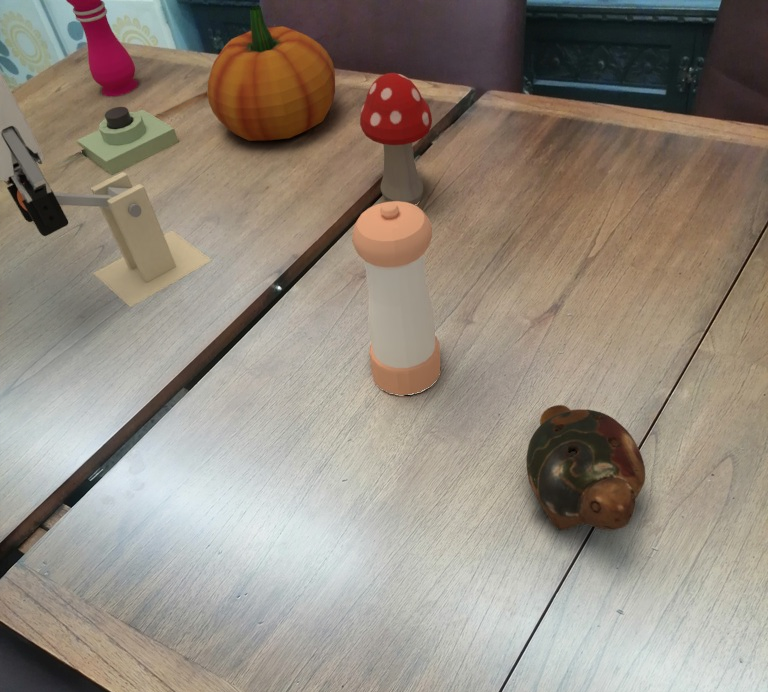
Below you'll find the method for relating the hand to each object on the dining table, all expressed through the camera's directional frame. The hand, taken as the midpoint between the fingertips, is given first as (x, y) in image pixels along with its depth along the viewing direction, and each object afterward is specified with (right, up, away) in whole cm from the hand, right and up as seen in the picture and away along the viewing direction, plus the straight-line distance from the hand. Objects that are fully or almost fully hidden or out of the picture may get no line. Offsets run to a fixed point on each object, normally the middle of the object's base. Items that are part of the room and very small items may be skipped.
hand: (47, 221), depth 76 cm
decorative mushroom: (+40, +10, +17) cm, 44 cm away
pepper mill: (-8, +39, +43) cm, 59 cm away
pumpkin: (+21, +29, +33) cm, 48 cm away
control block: (-3, +25, +32) cm, 41 cm away
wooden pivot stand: (+8, -2, +13) cm, 15 cm away
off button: (-3, +27, +29) cm, 40 cm away
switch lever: (+3, +2, +2) cm, 4 cm away
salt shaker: (+40, -17, -2) cm, 43 cm away
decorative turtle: (+55, -31, -13) cm, 64 cm away
